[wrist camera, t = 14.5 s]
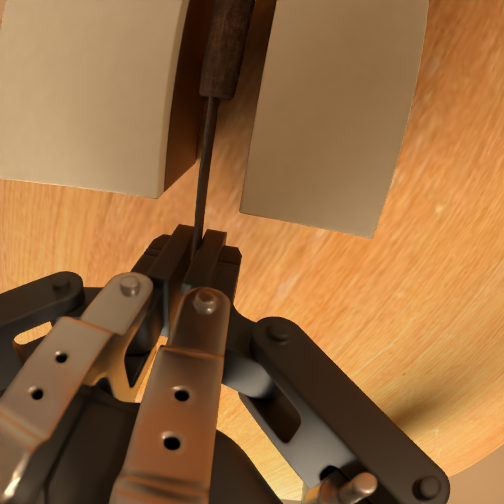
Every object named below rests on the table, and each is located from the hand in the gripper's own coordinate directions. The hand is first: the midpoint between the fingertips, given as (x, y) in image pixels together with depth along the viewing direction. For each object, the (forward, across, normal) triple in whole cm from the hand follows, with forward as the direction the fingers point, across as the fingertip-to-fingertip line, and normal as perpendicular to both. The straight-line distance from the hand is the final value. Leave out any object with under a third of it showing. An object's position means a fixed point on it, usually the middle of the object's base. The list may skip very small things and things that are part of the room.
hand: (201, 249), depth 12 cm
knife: (0, 0, -6) cm, 6 cm away
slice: (+2, -3, -7) cm, 8 cm away
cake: (+3, +5, -7) cm, 9 cm away
